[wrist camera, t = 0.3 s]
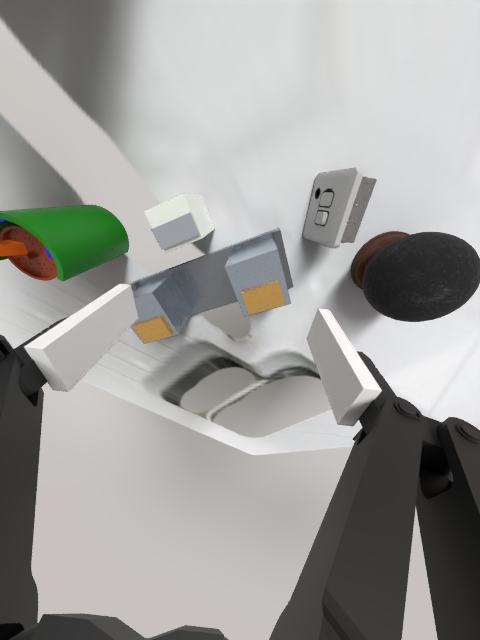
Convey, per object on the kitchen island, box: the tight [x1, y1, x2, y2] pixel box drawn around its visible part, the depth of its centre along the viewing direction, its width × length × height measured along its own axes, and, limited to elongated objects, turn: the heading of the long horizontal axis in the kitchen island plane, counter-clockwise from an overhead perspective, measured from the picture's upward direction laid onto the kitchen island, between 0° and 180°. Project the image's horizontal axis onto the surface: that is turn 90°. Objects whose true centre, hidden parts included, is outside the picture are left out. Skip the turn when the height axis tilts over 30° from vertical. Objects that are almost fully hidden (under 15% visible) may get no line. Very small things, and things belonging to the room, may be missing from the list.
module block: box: [144, 193, 215, 253], centre depth 30 cm, size 6×6×11 cm
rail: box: [130, 228, 293, 344], centre depth 36 cm, size 11×32×11 cm, turn 110°
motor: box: [0, 205, 129, 281], centre depth 28 cm, size 10×9×20 cm
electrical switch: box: [303, 168, 376, 248], centre depth 29 cm, size 9×5×9 cm, turn 176°
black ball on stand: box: [351, 231, 480, 322], centre depth 30 cm, size 13×13×15 cm
